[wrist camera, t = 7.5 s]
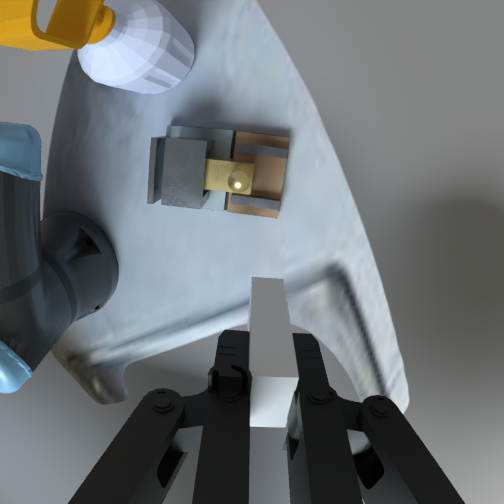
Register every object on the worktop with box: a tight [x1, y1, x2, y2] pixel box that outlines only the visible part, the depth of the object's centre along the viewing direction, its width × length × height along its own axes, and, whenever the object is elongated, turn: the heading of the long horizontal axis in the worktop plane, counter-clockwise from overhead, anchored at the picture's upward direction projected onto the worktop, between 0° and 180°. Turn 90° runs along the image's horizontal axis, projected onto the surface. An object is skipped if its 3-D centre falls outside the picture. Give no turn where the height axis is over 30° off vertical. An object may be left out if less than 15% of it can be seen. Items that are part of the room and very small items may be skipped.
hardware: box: [147, 136, 289, 210], centre depth 31 cm, size 13×7×5 cm, turn 83°
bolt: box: [203, 156, 255, 195], centre depth 30 cm, size 7×3×5 cm, turn 83°
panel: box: [161, 126, 290, 218], centre depth 33 cm, size 13×9×1 cm
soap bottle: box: [0, 0, 195, 94], centre depth 18 cm, size 9×9×25 cm
